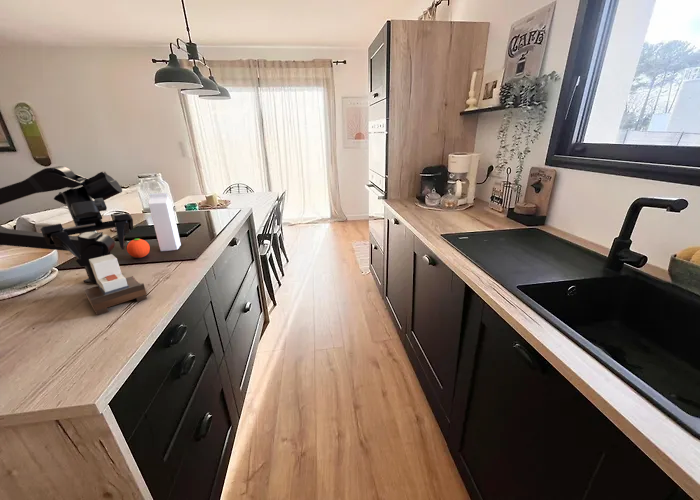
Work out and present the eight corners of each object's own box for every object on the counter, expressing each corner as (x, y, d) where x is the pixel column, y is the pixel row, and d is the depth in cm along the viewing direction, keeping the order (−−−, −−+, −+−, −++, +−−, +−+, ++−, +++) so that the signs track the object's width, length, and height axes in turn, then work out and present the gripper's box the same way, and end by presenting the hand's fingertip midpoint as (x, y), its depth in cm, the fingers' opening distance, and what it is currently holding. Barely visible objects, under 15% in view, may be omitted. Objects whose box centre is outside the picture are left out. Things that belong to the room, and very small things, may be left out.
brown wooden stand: (87, 299, 78) (81, 284, 76) (135, 285, 85) (131, 271, 84) (96, 315, 70) (90, 299, 69) (148, 298, 78) (143, 283, 76)
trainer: (97, 285, 79) (87, 258, 76) (120, 279, 82) (112, 253, 80) (105, 296, 73) (95, 268, 70) (129, 289, 77) (121, 261, 74)
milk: (177, 250, 113) (164, 194, 106) (160, 251, 112) (145, 195, 104) (181, 245, 119) (169, 191, 111) (164, 246, 117) (151, 192, 109)
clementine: (133, 254, 109) (127, 236, 107) (154, 251, 112) (149, 234, 109) (127, 261, 102) (121, 243, 100) (150, 258, 105) (145, 240, 102)
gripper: (25, 194, 69) (47, 248, 66) (121, 185, 81) (142, 229, 78) (38, 220, 76) (57, 269, 73) (123, 208, 89) (142, 249, 86)
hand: (102, 253), depth 78 cm, fingers open, 9 cm apart
